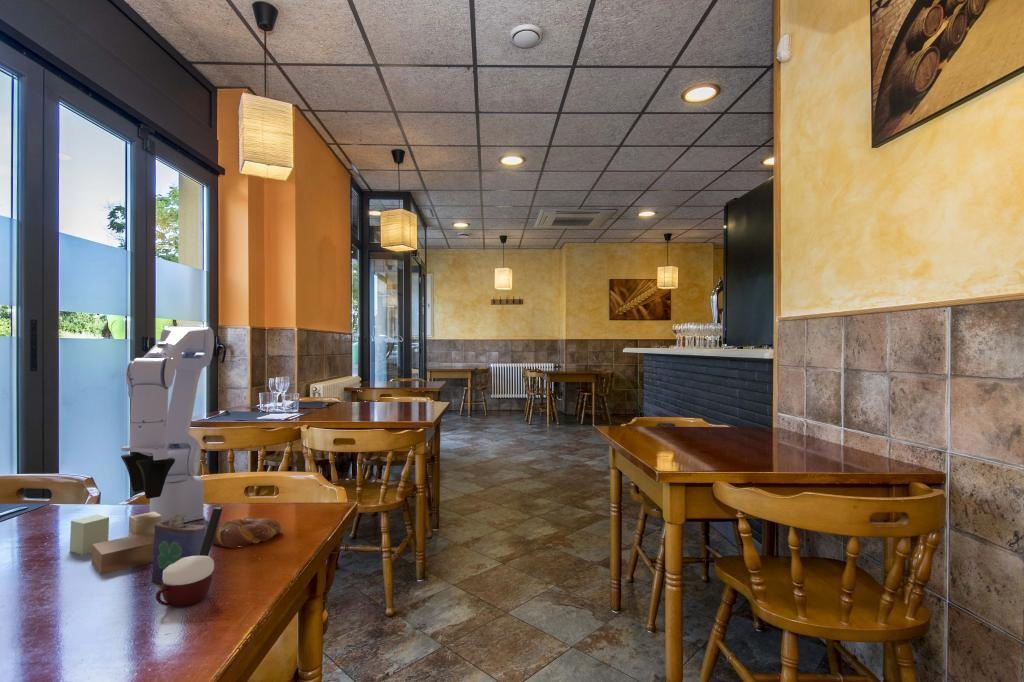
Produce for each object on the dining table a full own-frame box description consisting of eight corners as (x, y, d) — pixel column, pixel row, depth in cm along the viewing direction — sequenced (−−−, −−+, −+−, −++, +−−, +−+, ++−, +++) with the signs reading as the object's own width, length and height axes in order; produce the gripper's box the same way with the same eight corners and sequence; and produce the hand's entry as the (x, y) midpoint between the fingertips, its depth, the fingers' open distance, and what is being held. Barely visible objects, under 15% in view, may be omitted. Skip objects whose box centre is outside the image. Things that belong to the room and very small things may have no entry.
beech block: (153, 540, 97) (154, 511, 97) (160, 545, 95) (161, 515, 95) (128, 546, 94) (129, 516, 94) (134, 551, 92) (136, 520, 92)
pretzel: (280, 526, 106) (280, 509, 107) (281, 544, 97) (281, 524, 97) (214, 534, 101) (215, 516, 101) (208, 553, 91) (208, 533, 92)
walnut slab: (141, 553, 91) (141, 533, 92) (152, 563, 87) (153, 543, 87) (91, 564, 86) (92, 544, 86) (100, 576, 82) (101, 554, 82)
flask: (207, 582, 79) (209, 513, 79) (191, 591, 76) (193, 519, 77) (162, 575, 82) (164, 508, 82) (144, 583, 79) (146, 513, 79)
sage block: (95, 544, 95) (96, 514, 95) (107, 547, 93) (109, 517, 94) (69, 551, 91) (71, 520, 92) (82, 554, 90) (83, 523, 90)
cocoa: (159, 622, 68) (158, 533, 68) (145, 605, 72) (145, 522, 72) (234, 594, 75) (234, 514, 75) (218, 580, 79) (218, 505, 79)
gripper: (111, 420, 97) (108, 491, 96) (135, 426, 88) (132, 505, 87) (154, 417, 102) (152, 484, 102) (181, 422, 93) (179, 497, 93)
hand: (146, 494), depth 95 cm, fingers open, 7 cm apart
